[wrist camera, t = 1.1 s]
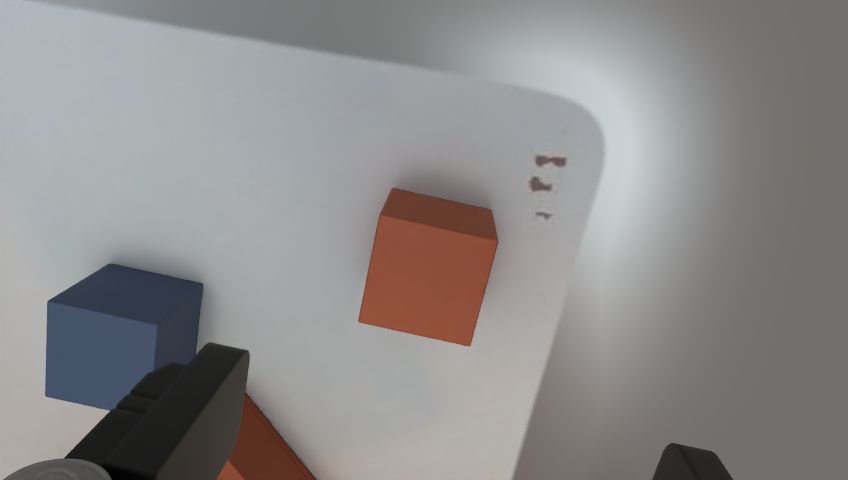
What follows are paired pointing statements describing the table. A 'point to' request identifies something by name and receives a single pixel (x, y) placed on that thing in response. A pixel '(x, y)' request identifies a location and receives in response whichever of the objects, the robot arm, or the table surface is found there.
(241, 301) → the table surface
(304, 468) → the terracotta bin
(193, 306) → the slate block
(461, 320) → the terracotta block
